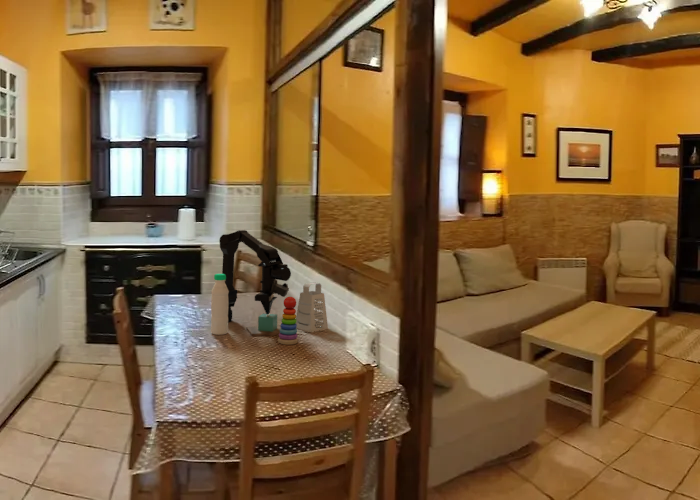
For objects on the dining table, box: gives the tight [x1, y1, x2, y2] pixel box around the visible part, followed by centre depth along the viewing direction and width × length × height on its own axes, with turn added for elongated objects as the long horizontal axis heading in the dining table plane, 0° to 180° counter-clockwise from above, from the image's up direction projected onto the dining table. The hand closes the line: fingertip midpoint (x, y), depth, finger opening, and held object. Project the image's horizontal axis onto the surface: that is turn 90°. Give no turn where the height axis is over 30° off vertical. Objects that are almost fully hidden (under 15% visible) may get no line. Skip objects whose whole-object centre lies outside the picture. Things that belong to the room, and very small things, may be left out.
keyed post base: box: [245, 324, 281, 337], centre depth 265 cm, size 16×12×5 cm
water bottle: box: [210, 273, 229, 336], centre depth 259 cm, size 7×7×25 cm
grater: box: [295, 282, 329, 333], centre depth 273 cm, size 10×10×20 cm
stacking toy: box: [277, 296, 299, 346], centre depth 248 cm, size 8×8×19 cm
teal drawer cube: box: [257, 313, 278, 332], centre depth 265 cm, size 6×6×6 cm
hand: (267, 314), depth 265 cm, fingers closed
